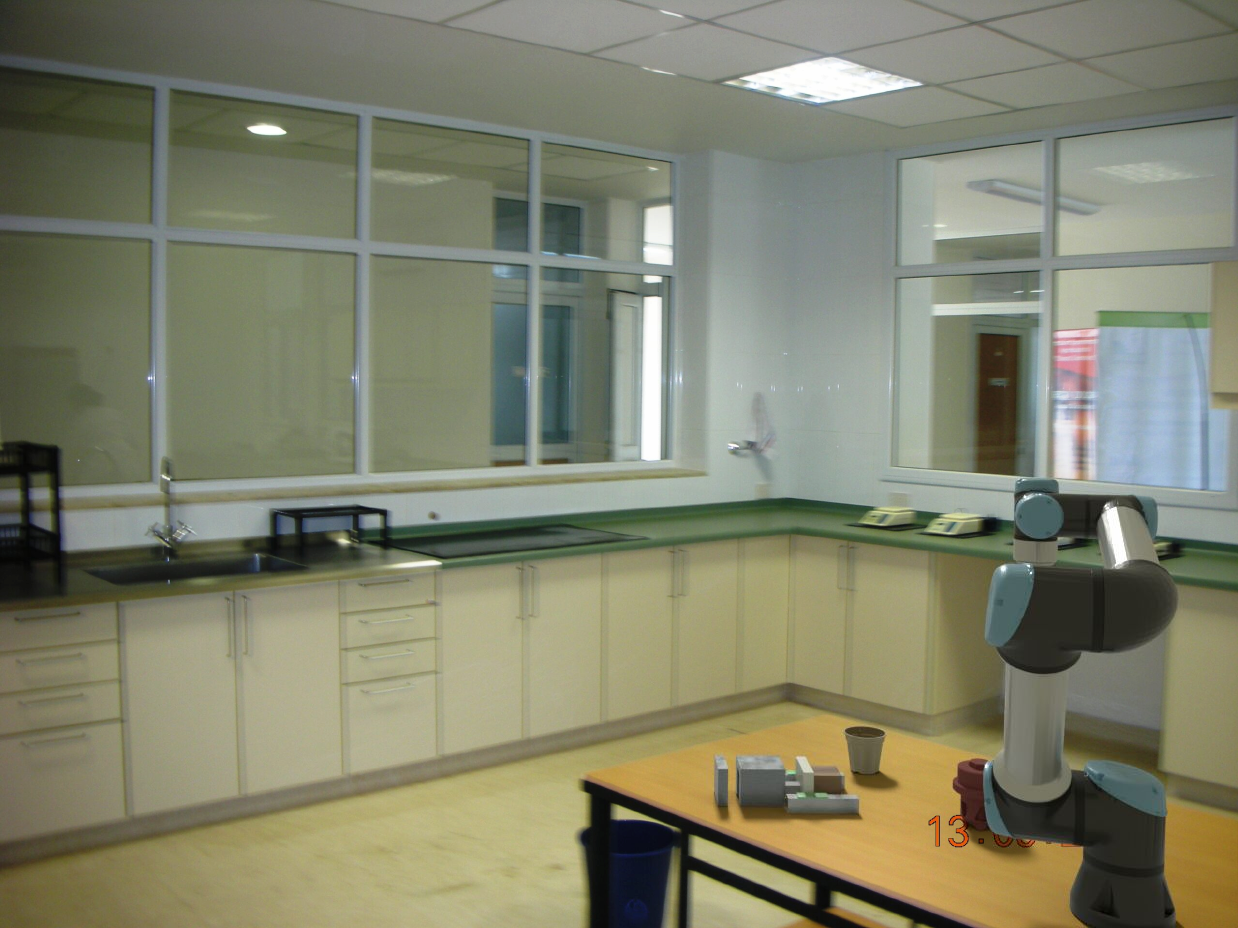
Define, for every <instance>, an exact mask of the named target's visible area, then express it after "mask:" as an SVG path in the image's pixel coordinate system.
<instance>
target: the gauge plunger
mask: <svg viewBox="0 0 1238 928" xmlns="http://www.w3.org/2000/svg"><path fill="white" fill-rule="evenodd" d="M811 766H812V765H811V764H810V763H809V761H808V759H807V757H806V756H795V767H794V768H795V769H794V770H795V782H786V781H785V798H786V794H796V793H814V772H813V770H812V768H811Z"/></svg>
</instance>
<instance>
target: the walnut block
mask: <svg viewBox="0 0 1238 928" xmlns="http://www.w3.org/2000/svg"><path fill="white" fill-rule="evenodd" d="M810 766H811V768H812V770H813V772H814V793H827V794H842V790H841V788H842V775H841V774H840V772H841V771H839V769H838V767H837V765H810Z"/></svg>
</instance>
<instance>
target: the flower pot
mask: <svg viewBox="0 0 1238 928" xmlns="http://www.w3.org/2000/svg"><path fill="white" fill-rule="evenodd" d="M842 732H843V734H844V736H845V740H846V744H847V752H848V761H849V768H850V770H851V771H852V772H853V773H856V772H857V773H859V774H862V775H874V774H876V773H878V772H879V771H880V768H881V758H882V752H883V745H884V742H885V738H886V737H887V734H888V732H887V731H886V730H884V729H882V728H879V727H874V726H870V725H869V726H867V725H853V726H848V727H845V728H844V729H843V731H842Z"/></svg>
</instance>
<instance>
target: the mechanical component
mask: <svg viewBox="0 0 1238 928" xmlns="http://www.w3.org/2000/svg"><path fill="white" fill-rule="evenodd" d="M988 761H989V760H988V759H985V758H979V757H977V758H971V759H968V760H963V761H960V762H959V763H957V775H956V776H955V777H954V778H953V779H952V789H953V791H954V792H955V793H957V794H958V795H960V799H959V800H960V804H959V805H960V808H959V810H960V813H959V814H960V817H961V820H962V821H963V822H965V823H966V824H969V825H971V826H973V827H974V828H975V829H976V830H977V831H981V832H983V831H986V828H987V827H989V825H988V822H987V818H986V812H985V799H984V788H983V774H984V765H985V763H986V762H988Z"/></svg>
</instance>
